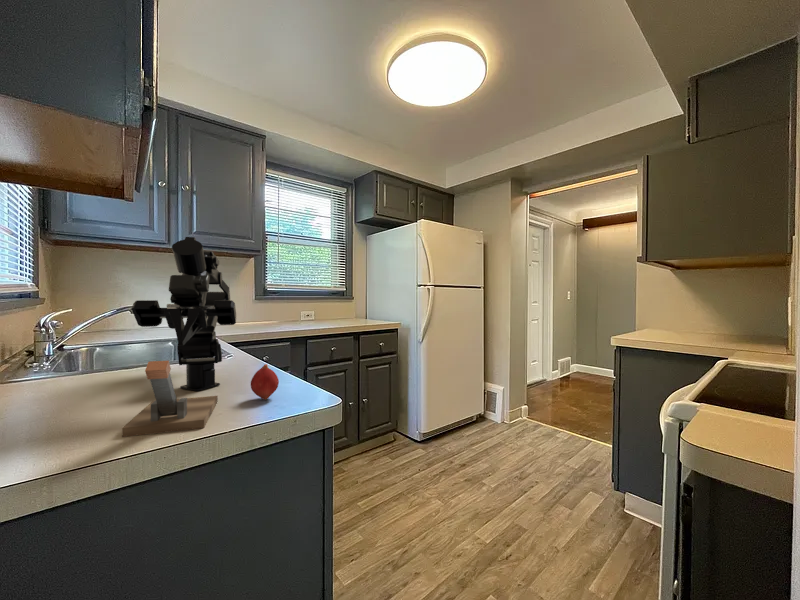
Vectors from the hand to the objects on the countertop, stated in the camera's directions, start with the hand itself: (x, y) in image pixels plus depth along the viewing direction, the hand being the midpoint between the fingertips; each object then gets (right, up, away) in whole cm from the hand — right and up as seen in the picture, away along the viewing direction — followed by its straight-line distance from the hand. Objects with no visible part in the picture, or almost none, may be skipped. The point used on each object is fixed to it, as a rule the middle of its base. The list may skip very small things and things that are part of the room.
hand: (180, 344), depth 70 cm
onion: (+14, -14, +9) cm, 21 cm away
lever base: (+1, -14, -3) cm, 14 cm away
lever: (+3, -11, -7) cm, 13 cm away
